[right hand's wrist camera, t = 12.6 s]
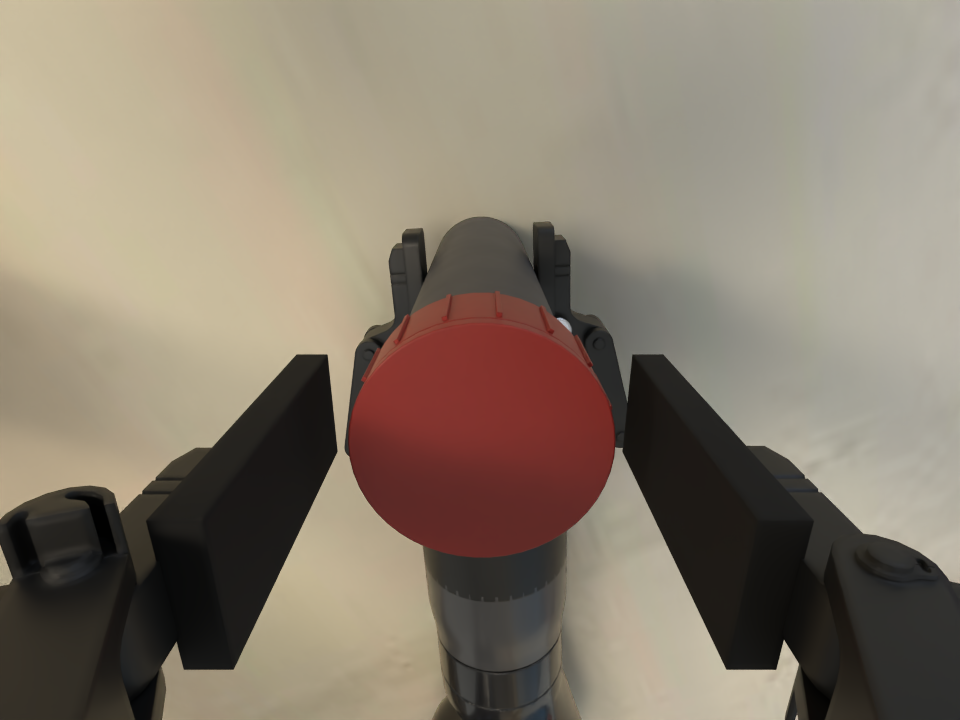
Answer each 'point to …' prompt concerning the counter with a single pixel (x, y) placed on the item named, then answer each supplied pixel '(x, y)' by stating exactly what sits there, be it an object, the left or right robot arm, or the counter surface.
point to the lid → (481, 427)
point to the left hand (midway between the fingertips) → (477, 229)
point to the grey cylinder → (481, 265)
